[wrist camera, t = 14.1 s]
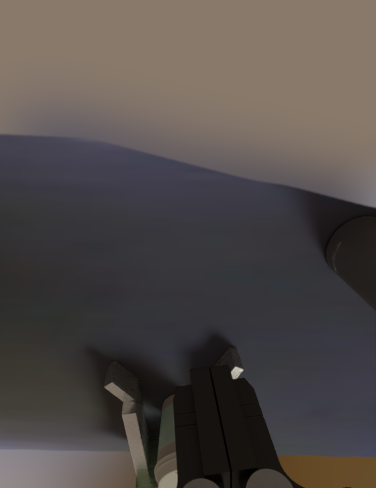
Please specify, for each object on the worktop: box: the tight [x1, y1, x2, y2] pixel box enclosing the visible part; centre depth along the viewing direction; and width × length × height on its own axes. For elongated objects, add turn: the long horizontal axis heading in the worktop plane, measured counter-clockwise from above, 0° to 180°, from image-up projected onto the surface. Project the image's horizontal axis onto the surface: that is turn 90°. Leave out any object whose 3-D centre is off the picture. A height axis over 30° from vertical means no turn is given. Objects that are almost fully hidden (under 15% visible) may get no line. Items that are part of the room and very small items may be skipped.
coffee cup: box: [154, 394, 177, 488], centre depth 47 cm, size 8×8×12 cm
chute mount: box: [104, 347, 244, 488], centre depth 48 cm, size 20×21×8 cm
